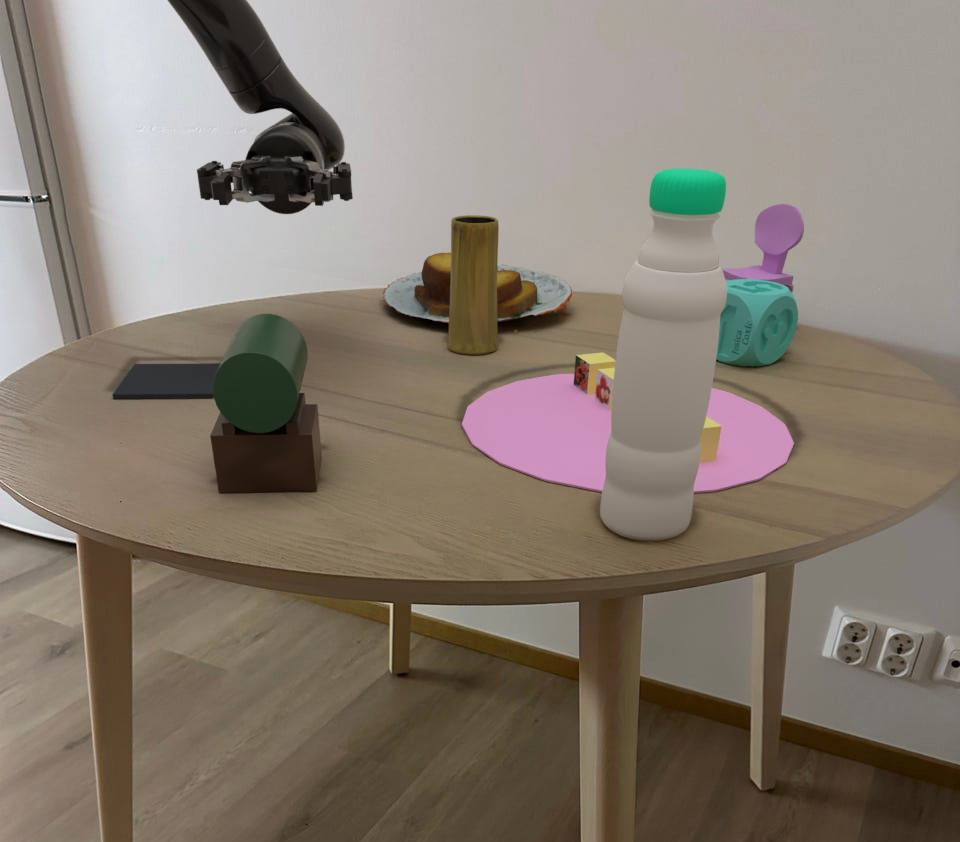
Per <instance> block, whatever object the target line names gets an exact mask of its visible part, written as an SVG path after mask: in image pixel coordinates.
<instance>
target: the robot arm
mask: <svg viewBox="0 0 960 842" xmlns="http://www.w3.org/2000/svg"><path fill="white" fill-rule="evenodd" d="M167 2H168V3H169V4H170V6H171V7H172V8H173V10H174V11H175V12H176V14H177V15H178V16H179V17H180V19H181V20H182V22H183V23H184V25H185V26H186V28H187V30H188V31H189V32H190V33H191V35H192V37H193V38H194V40H195V41H196V43H197V44H198V45H199V47H200V49H201V50H202V52H203V53H204V55H205V56H206V59H207V60H208V61H209V63H210V65H211V66H212V68H213V69H214V71H215V72H216V74H217V76H218V77H219V79H220V80H221V82H222V84H223V86H224V87H225V88H226V90H227V91H228V93H229V95H230V96H231V98H232V99H233V101H234V102H235V104H236V105H237V107H238V108H239V109H240V110H241V111H242V112H243V113H246V114H248V115H257V114H261V113H266V112H269V111H273V110H279V109H281V110H286V111H288V112H290V114H289V115H287V116H284V118H282V119H280V120H279V121H276V123H274V124H272V125H271V126H269V127H266V128H265V129H264V130H263V131H261V132H260V133H259V134H257V135H256V136H255V138H254V140H253V143H252V144H251V146H250V147H249V149H248V151H247V153H246V157H245V159H244V160H236V161H233V162H232V163H230V167H229V168H225V167H224V164H223V163H222V162H221V161H217V160H211V161H210V162H207V163H205V164H204V165H202V166H200V167H199V168H197V169H196V174H197V181H198V190H199V196H200V199H202V200H204V201H211V200H213V201H218V204H219V206H229V205H230V203H231V202H232V201H233V200H235V201H236V202H241V203H247V204H248V203H253V202H258V203H259V204H260V205H261V206H262V207H264V208H266V209H267V210H269V211H270V212H273V213H276V214H279V215H294V214H297V213H300V212H302V211H303V210H305V209H307V208H308V207H309V206H310V205H311V204H312V203H314V206H315V207H323V206H324V203H330V202H331V201H334V196H336V195H339V199H340V200H343V201H345V202H349V201H350V200H353V199H354V198H353V185H352V167H351V163H348V162H347V161H342V160H343V159H344V156H345V150H346V148H345V147H346V145H345V138H344V134H343V132H342V130H341V128H340V126H339V124H338V123H337V122H336V120H335V119H334V118H333V116H332V115H331V114H330V113H329V112H328V110H326V109H325V108H324V107H323V106H322V105H321V104H320V102H318V101H317V100H316V99H315V98H314V97H313V96H312V95H311V94H310V93H309V92H308V91H307V90H306V89H305V87H304V86H303V85H302V84H301V83H300V82H299V81H298V79H297V78H296V77H295V75H294V74H293V73H292V71H291V70H290V68H289V66H288V65H287V64H286V62H285V61H284V59H283V57H282V55H281V54H280V51H279V50H278V49H277V47H276V45H275V43H274V41H273V40H272V38H271V36H270V34H269V32H268V31H267V29H266V27H265V26H264V23H263V21H262V20H261V19H260V16H259V15H258V14H257V12H256V11H255V9H254V8H253V6H252V5H251V4H250V3H249V1H248V0H167ZM232 185H233V189H232Z"/></svg>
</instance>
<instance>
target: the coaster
mask: <svg viewBox="0 0 960 842" xmlns="http://www.w3.org/2000/svg"><path fill="white" fill-rule="evenodd" d="M220 364H221V362H220V363H219V362H218V363H213V362H212V363H210V362H209V363H134V364H133V366H132V367H131V368H130V370H129V371H128V372H127V373H126V375H125V377H124V378H123V379H122V380H121V382H120V383H119V385H118V386H117V387H116V388H115V390H114V392H113V393H112V394H111V395H112V399H113V400H134V399H135V400H137V399H138V400H140V399H141V400H142V399H143V400H145V399H149V400H152V399H154V400H155V399H214V395H213V381H214V377H215V374H216V372H217V370H218V368H219V366H220Z"/></svg>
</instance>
